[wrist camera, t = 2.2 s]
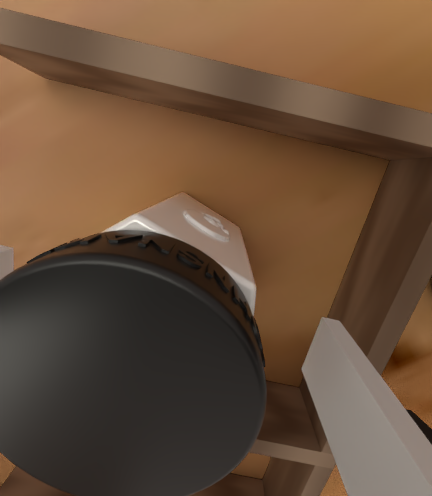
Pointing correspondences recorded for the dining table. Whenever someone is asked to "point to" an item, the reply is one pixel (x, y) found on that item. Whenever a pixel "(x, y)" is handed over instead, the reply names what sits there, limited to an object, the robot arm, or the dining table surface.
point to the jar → (133, 357)
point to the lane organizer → (294, 125)
